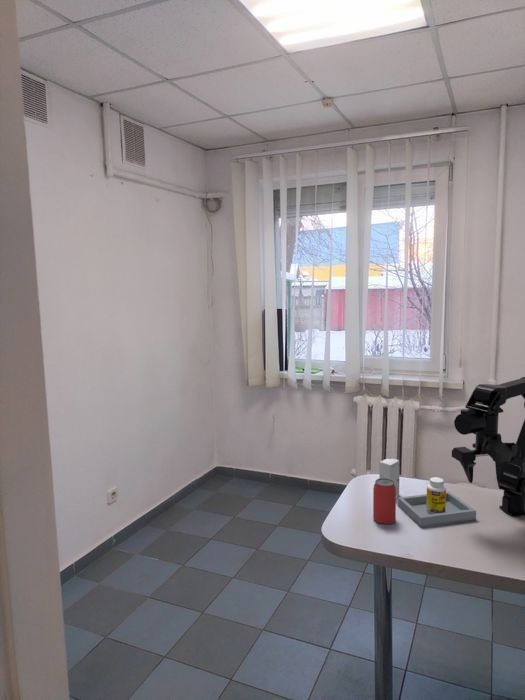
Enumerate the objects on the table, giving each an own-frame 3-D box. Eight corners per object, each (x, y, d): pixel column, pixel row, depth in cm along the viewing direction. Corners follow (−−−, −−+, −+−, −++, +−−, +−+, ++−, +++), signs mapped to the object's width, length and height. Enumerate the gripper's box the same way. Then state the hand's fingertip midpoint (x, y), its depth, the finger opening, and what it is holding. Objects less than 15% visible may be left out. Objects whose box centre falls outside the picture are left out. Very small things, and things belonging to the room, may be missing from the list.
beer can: (399, 519, 146) (400, 481, 145) (388, 527, 141) (389, 488, 140) (380, 512, 151) (380, 475, 149) (369, 520, 146) (369, 482, 144)
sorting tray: (448, 500, 158) (448, 491, 158) (475, 520, 144) (476, 510, 144) (397, 506, 154) (397, 497, 154) (420, 527, 141) (420, 517, 140)
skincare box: (390, 500, 159) (390, 465, 157) (378, 496, 162) (378, 461, 160) (400, 494, 163) (400, 460, 161) (388, 491, 166) (388, 457, 164)
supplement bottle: (429, 515, 147) (429, 483, 145) (424, 507, 152) (424, 475, 151) (448, 515, 146) (448, 483, 145) (442, 507, 152) (443, 476, 151)
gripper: (475, 440, 129) (473, 495, 131) (536, 434, 133) (533, 488, 135) (451, 428, 140) (449, 480, 142) (507, 423, 144) (505, 473, 146)
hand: (484, 480), depth 141 cm, fingers open, 9 cm apart
